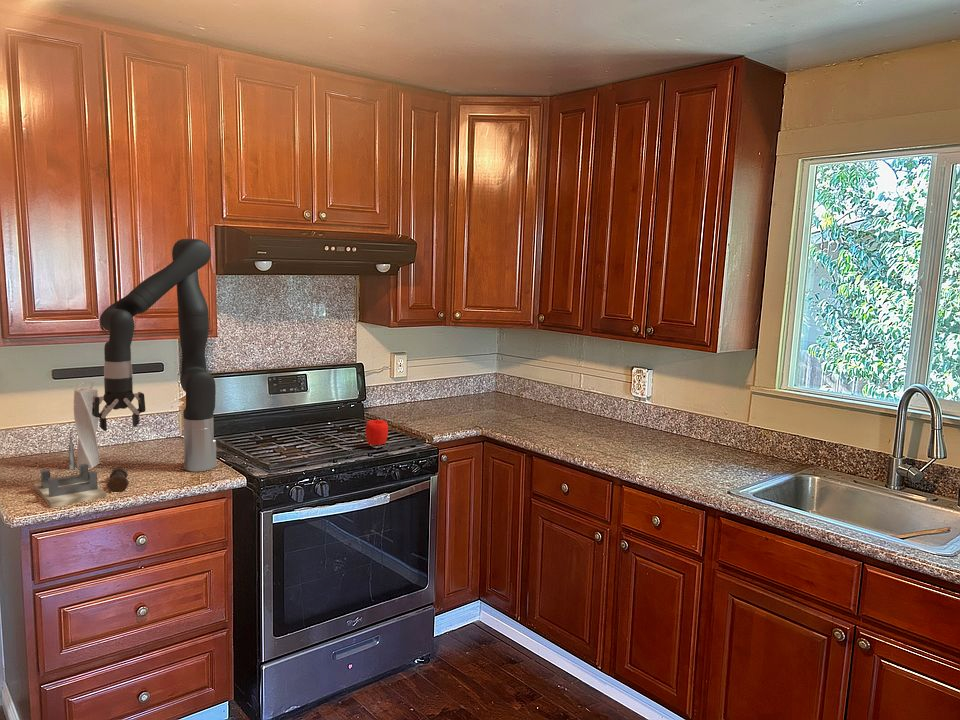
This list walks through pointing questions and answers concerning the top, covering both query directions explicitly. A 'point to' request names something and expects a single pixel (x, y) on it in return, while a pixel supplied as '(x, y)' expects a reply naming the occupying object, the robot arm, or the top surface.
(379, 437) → the apple
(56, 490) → the grey notched cradle
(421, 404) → the top surface
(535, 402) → the top surface
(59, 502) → the collar board
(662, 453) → the top surface
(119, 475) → the bolt
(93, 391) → the skyscraper
